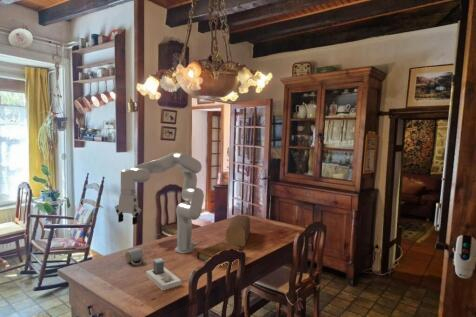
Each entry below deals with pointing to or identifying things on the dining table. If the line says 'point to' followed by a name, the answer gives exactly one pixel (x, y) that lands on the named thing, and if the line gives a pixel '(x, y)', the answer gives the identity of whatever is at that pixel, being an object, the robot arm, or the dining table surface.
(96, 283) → the dining table surface
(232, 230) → the bread
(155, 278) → the jack panel
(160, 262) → the plug
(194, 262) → the dining table surface
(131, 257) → the ceramic mug
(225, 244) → the diary
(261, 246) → the dining table surface
